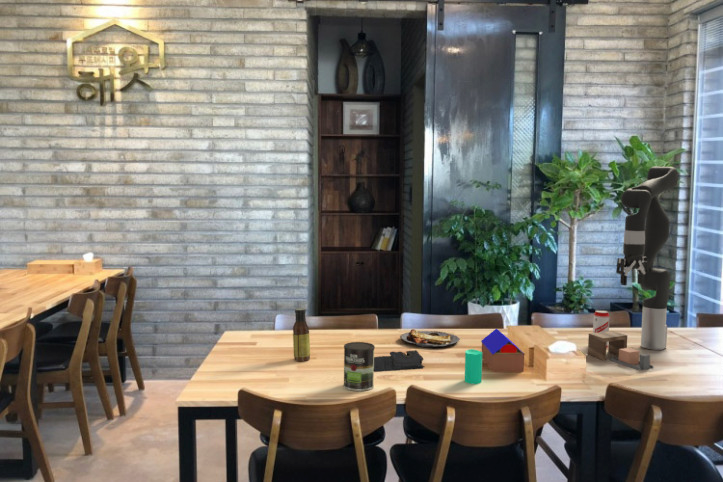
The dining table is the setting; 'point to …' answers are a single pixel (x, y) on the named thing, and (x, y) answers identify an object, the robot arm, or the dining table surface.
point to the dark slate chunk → (398, 361)
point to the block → (629, 356)
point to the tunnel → (605, 343)
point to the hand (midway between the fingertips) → (632, 284)
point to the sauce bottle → (301, 337)
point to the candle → (473, 366)
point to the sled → (642, 365)
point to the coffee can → (358, 366)
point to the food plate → (429, 338)
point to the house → (502, 353)
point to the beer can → (601, 322)
